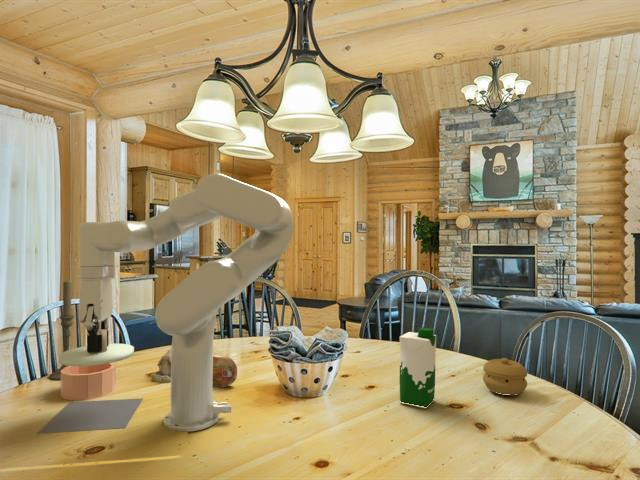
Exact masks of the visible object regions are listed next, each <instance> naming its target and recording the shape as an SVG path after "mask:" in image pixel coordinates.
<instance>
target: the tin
mask: <svg viewBox="0 0 640 480" xmlns="http://www.w3.org/2000/svg"><path fill="white" fill-rule="evenodd" d="M237 377H238V367H237V364H236V363H235V361H234V360H233V358H231V357H228V356H222V355H216V354H213V386H215V387H220V388H225V387H228V386H229V385H230V386H231V385H233V384H234V382H235V381H236V380H237Z"/></svg>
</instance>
